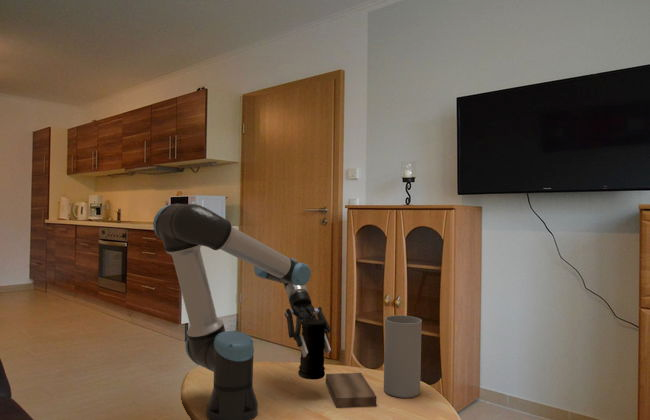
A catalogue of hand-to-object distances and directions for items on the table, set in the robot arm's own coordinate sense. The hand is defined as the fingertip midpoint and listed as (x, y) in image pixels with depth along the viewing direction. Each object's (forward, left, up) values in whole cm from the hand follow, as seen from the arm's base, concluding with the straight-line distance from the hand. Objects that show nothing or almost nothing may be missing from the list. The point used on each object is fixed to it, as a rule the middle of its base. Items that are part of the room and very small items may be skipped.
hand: (317, 353), depth 150 cm
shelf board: (+12, +4, -15) cm, 20 cm away
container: (-1, +3, -8) cm, 9 cm away
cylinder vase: (+30, +4, -15) cm, 34 cm away
